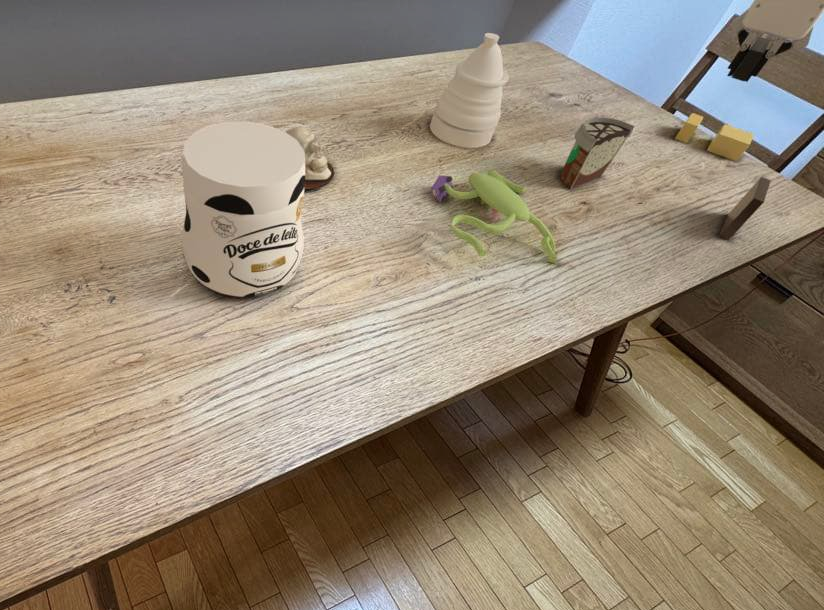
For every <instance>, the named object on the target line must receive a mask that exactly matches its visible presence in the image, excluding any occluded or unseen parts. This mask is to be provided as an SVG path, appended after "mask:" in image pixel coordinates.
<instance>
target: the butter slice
mask: <svg viewBox="0 0 824 610" xmlns="http://www.w3.org/2000/svg"><path fill="white" fill-rule="evenodd" d="M703 120H704V116H703V115H700V114H696V113H694V112H691V113H690V115H689V117H688V118H687V119H686V121H685V122H684V124H683V125H682V126H681V128H680V129H679V131H678V132H677V134H676V136H675V137H674V140H677V141H679V142H682V143H685V144H687V143H688V142H689V140H690V139H691V137H692V136H693V135H694V134H695V132H696V130H697V129H698V128H699V126H700V124H701V122H702V121H703Z"/></svg>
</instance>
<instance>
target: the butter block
mask: <svg viewBox="0 0 824 610" xmlns="http://www.w3.org/2000/svg"><path fill="white" fill-rule="evenodd" d="M754 137H755V134H754V133H751V132H748V131H747V130H743V129H740V128H738V127H734V126H732V125H728V124H726V123H724V124H723V125H722V126H721V128H720V129H719V130H718V132H717V133H716V134H715V136H714V137H713V139H712V140H711V142H710V144H709V145H708V148H707V149H706V151H707V152H710V153H712V154H715V155H717V156H720V157H723V158H726V159H729V160H731V161H734V162H737V161H739V159H740V158H741V156H743V154H744V153H745V152H746V150H747V149H748V148H749V147H750V146H751V144H752V141H753V139H754Z"/></svg>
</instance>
